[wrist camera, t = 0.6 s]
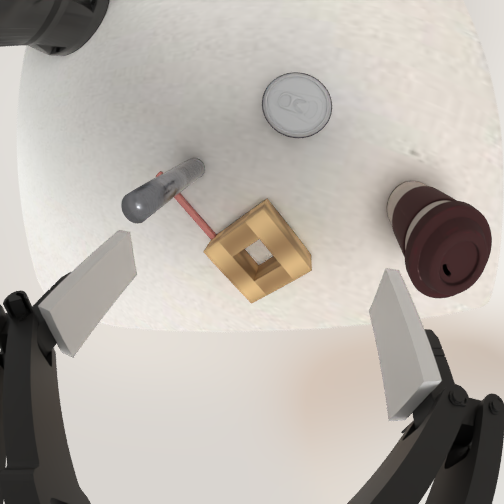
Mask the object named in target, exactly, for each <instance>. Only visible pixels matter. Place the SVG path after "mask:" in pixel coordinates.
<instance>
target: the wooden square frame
mask: <svg viewBox="0 0 504 504" xmlns="http://www.w3.org/2000/svg"><path fill="white" fill-rule="evenodd" d="M259 239H260V240H261V241H262V243H263V244H264V245H265V246H266V247H267V249H268V250H269V251H270V252H271V253H272V255H273V256H274V257H272V258H270V259H269V260H267V261H265V262H264V263H262V264H261V265H258V264H257V263H256V262H255V261H254V260H253V259H252V257H251V256H250V255H249V254H248V253H247V252H246V251H245V248H246V247H248V246H250V245H251V244H253V243H254V242H256V241H257V240H259ZM204 253H205V254H206V255H207V256H208V258H209V259H210V260H211V261H212V262H213V263H214V264H215V265H216V266H217V267H218V268H219V270H220V271H221V272H222V273H223V274H224V275H225V276H226V277H227V278H228V279H229V280H230V281H231V282H232V283H233V285H234V286H235V287H236V288H237V289H238V290H239V291H240V292H241V293H242V294H243V295H244V296H245V297H246V298H247V299H248V300H249V301H250V303H253V302H255V301H257V300H259V299H261V298H263V297H265V296H266V295H268V294H270V293H272V292H274V291H276V290H277V289H279V288H281V287H283V286H285V285H287V284H288V283H290V282H292V281H294V280H296V279H297V278H299V277H301V276H303V275H305V274H306V273H308V272H310V271H312V265H311V254H310V253H309V251H308V250H307V249H306V247H305V246H304V245H303V244H302V242H301V241H300V240H299V238H298V237H297V236H296V234H295V233H294V232H293V231H292V229H291V228H290V227H289V225H288V224H287V223H286V222H285V220H284V219H283V218H282V216H281V215H280V214H279V213H278V211H277V210H276V209H275V208H274V206H273V205H272V204H271V203H270V201H269V200H268V199H266V200H264V201H263V202H262V203H260V204H259V205H257V206H256V207H255V208H253V209H252V210H250V211H249V212H248V213H246V214H245V215H243V216H242V217H241V218H239V219H238V220H236V221H235V222H234V223H232V224H231V225H230V226H228V227H227V228H226V229H224V230H223V231H221V232H220V233H219V234H217V235H216V237H215V238H213V239H212V240H211V241H210V242H209V244H208V245H207V247H206V249H205V250H204Z"/></svg>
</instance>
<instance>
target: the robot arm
mask: <svg viewBox="0 0 504 504" xmlns="http://www.w3.org/2000/svg"><path fill="white" fill-rule="evenodd" d="M108 3H109V0H0V46H15V45H16V46H18V45H29V46H31V47H33V48H35V49H37V50H39V51H41V52H43V53H46V54H48V55H56V56H63V55H68V54H70V53H72V52H74V51H76V50H77V49H79V48H80V47H81V46H82V45H84V44H85V43H86V42H87V41H88V40H89V38H90V37H91V36H92V35H93V33H94V32H95V31H96V29H97V28H98V26H99V25H100V23H101V21H102V19H103V17H104V15H105V13H106V10H107V7H108ZM136 275H137V272H136V266H135V261H134V255H133V248H132V242H131V235H130V232H127V231H120V230H119V231H117V232H116V233H115V234H114V235H113V236H111V237H110V238H109V239H108V240H107V241H106V242H104V243H103V244H102V245H101V246H100V247H99V248H98V249H96V250H95V251H94V252H93V253H92V254H91V255H90V256H89V257H87V258H86V259H85V260H84V261H83V262H82V263H81V264H80V265H79V266H78V267H77V268H76V269H74V270H73V271H72V272H70V273H68V274H66V275H65V276H63V277H61V278H60V279H59V280H58V281H57V282H56V283H55V285H53V286H52V287H51V288H50V290H48V291H47V292H46V293H45V294H44V295H43V296H42V297H41V298H40V299H39V300H38V302H37V303H36V304H35V305H33V307H32V306H31V303H30V301H29V299H28V297H27V294H26V293H25V292H24V291H16V292H13V293H11V294H10V295H9V296H8V297H7V298H6V299H5V300H4V302H3V305H4V307H5V309H6V311H7V313H5V311H4V309H3V307H2V306H1V305H0V349H1V352H0V504H3V501H4V502H5V504H91V503H90V501H89V500H88V498H87V496H86V495H85V494H84V493H83V491H82V490H81V488H80V487H79V484H78V481H77V478H76V475H75V471H74V468H73V464H72V460H71V457H70V452H69V448H68V445H67V439H66V434H65V429H64V424H63V418H62V412H61V406H60V399H59V391H58V380H57V368H56V354H55V350H54V348H53V347H54V346H55V345H56V343H57V345H58V347H59V348H60V350H61V352H62V353H65V354H66V355H69V356H71V357H74V356H75V354H76V353H77V352H78V350H79V349H80V347H81V346H82V345H83V343H84V342H85V340H86V339H87V338H88V336H89V335H90V334H91V332H92V331H93V330H94V328H95V327H96V326H97V324H98V323H99V322H100V320H101V319H102V318H103V316H104V315H105V314H106V313H107V311H108V310H109V309H110V307H111V306H112V305H113V304H114V302H115V301H116V300H117V299H118V297H119V296H120V295H121V294H122V292H123V291H124V290H125V289H126V287H127V286H128V285H129V284H130V282H131V281H132V280H133V279H134V278H135V276H136ZM369 313H370V317H371V321H372V326H373V330H374V335H375V339H376V345H377V349H378V355H379V360H380V365H381V371H382V377H383V383H384V389H385V396H386V403H387V411H388V419H389V421H398V420H406V419H407V417H409V416H410V414H412V413H413V418H414V421H413V422H412V423H411V424H409V425H408V426H407V427H406V428H405V429H404V430H403V431H402V433H404V432H405V433H404V434H403V436H402V437H401V439H400V440H399V442H398V443H397V444H396V446H395V447H394V448H393V450H392V451H391V453H390V454H389V455H388V457H387V458H386V459H385V460H384V462H383V463H382V464H381V466H380V467H379V468H378V469H377V471H376V472H375V473H374V474H373V475H372V477H371V478H370V479H369V480H368V481H367V483H366V484H365V485H364V486H363V487H362V488H361V489H360V490H359V492H358V493H357V494H356V495H355V496H354V497H353V498H352V499H351V500H350V501H349V502H348V503H347V504H418V503H419V502H420V501H421V499H422V497H423V496H424V494H425V493H426V491H427V490H428V488H429V486H430V485H431V483H432V482H433V480H434V482H433V485H432V487H431V490H430V493H429V495H428V498H427V501H426V503H425V504H492V501H493V497H494V493H495V489H496V484H497V479H498V474H499V468H500V462H501V456H502V448H503V438H504V403H503V401H502V399H501V398H500V397H499V396H497V395H496V394H489V395H487V396H486V397H485V398H484V399H483V400H482V401H480V400H476V399H472V398H469V397H468V394H467V393H466V391H465V390H464V389H463V388H462V387H461V386H459V385H456V384H455V383H454V380H453V377H452V374H451V371H450V369H449V365H448V363H447V360H446V357H444V356H445V354H444V352H443V349H442V346H441V344H440V341H439V339H438V337H437V336H436V335H435V334H434V332H433V331H432V330H426V329H424V328H423V325H422V322H421V320H420V317H419V315H418V312H417V310H416V307H415V305H414V303H413V300H412V298H411V296H410V293H409V291H408V289H407V287H406V284H405V282H404V280H403V278H402V276H401V274H400V271H399V270H393V269H386V268H385V271H384V274H383V277H382V280H381V282H380V285H379V287H378V290H377V293H376V295H375V298H374V300H373V303H372V305H371V308H370V310H369ZM6 458H7V467H6V468H5V466H6V465H5V464H6ZM434 478H435V479H434Z"/></svg>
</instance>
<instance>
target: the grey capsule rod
mask: <svg viewBox="0 0 504 504" xmlns="http://www.w3.org/2000/svg"><path fill="white" fill-rule="evenodd" d="M204 171H205V166H204V164H203V162H202V161H201V160H199V159H197V158H192V159H190V160H188V161H186V162H184V163H182V164H180V165H178V166H176V167H174V168H172V169H171V170H169V171H167V172H165V173H163V174H161V175H160V176H158V177H156V178H154V179H152V180H151V181H149V182H147V183H145V184H144V185H142V186H140V187H138V188H137V189H135V190H133V191H132V192H130V193H128V194H127V195H125V196H124V198H123V200H122V211H123V213H124V215H125V217H126V218H127V219H128V220H129V221H131V222H133V223H142V222H143V221H145V220H146V219H147V218H148V217H150V216H151V215H152V214H153V213H154V212H156V211H157V210H158V209H159V208H161V207H162V206H163V205H164V204H166V203H167V202H168V201H170V200H171V199H172V198H173V197H175V196H176V195H177V194H179V193H180V192H181V191H183V190H184V189H185V188H187V187H188V186H189V185H191V184H192V183H193V182H195V181H196V180H197V179H199V178H200V177H201V176H202V175H203V174H204Z"/></svg>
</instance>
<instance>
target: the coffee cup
mask: <svg viewBox="0 0 504 504" xmlns="http://www.w3.org/2000/svg"><path fill="white" fill-rule="evenodd" d="M387 213H388V218H389V220H390V222H391V224H392V227H393V231H394V234H395V236H396V238H397V241H398V243H399V245H400V247H401V250H402V252H403V254H404V257H405V265H406V270H407V272H408V275H409V277H410V279H411V281H412V283H413V285H414V286H415V287H416V289H417V290H418V291H420V292H421V293H422V294H424V295H426V296H429V297H432V298H446V297H450V296H454V295H456V294H458V293H461V292H463V291H465V290H467V289H468V288H469V287H471V286H472V285H473V284H474V283H475V282H476V281H477V280H478V278H479V277H480V276H481V274H482V272H483V270H484V268H485V266H486V263H487V261H488V258H489V255H490V251H491V243H492V237H491V231H490V227H489V224H488V222H487V220H486V219H485V217H484V216H483V215H482V214H481V213H480V212H479V211H478V210H477V209H475V208H474V207H473V206H471V205H470V204H467V203H465V202H461V201H456V200H455V199H453V198H451V197H450V196H448V195H446V194H444V193H443V192H441V191H439V190H437V189H435V188H433V187H429V186H427V185H425V184H423V183H421V182H417V181H409V182H405V183H403V184H401V185H399V186H398V187H397V188H396V189H395V190H394V191H393V192H392V194H391V195H390V198H389V200H388V205H387Z"/></svg>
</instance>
